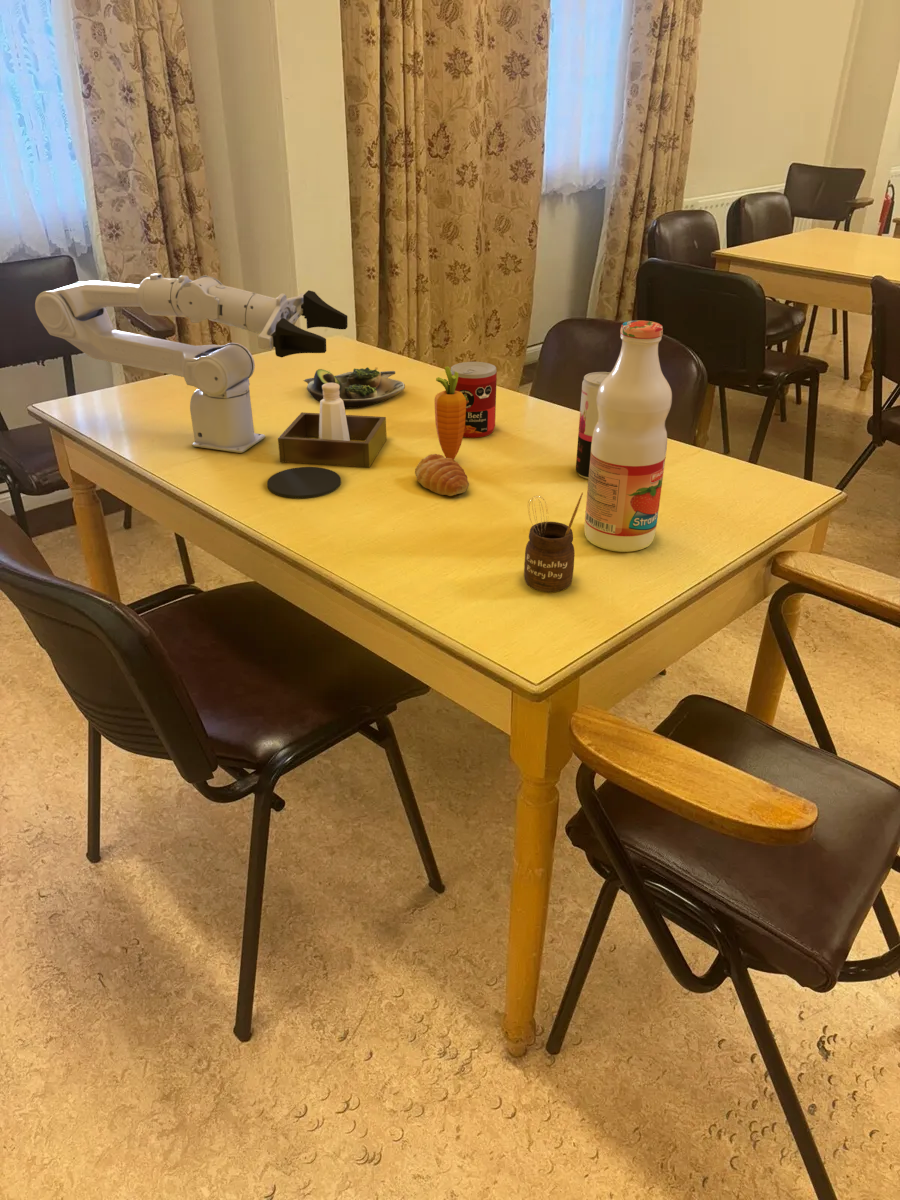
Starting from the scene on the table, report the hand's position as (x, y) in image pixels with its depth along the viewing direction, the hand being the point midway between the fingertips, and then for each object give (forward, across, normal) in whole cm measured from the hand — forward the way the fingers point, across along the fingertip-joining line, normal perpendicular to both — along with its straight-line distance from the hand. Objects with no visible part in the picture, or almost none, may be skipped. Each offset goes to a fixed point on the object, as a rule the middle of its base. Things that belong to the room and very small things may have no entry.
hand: (336, 334), depth 134 cm
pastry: (+22, -10, +15) cm, 28 cm away
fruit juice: (+49, -18, +8) cm, 53 cm away
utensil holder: (+43, -32, +6) cm, 54 cm away
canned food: (+19, +14, +21) cm, 32 cm away
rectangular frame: (+1, -3, +20) cm, 20 cm away
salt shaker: (+1, -3, +20) cm, 20 cm away
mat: (+2, -16, +16) cm, 23 cm away
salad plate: (-8, +25, +28) cm, 38 cm away
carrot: (+20, -1, +17) cm, 26 cm away
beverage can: (+43, +2, +14) cm, 45 cm away
